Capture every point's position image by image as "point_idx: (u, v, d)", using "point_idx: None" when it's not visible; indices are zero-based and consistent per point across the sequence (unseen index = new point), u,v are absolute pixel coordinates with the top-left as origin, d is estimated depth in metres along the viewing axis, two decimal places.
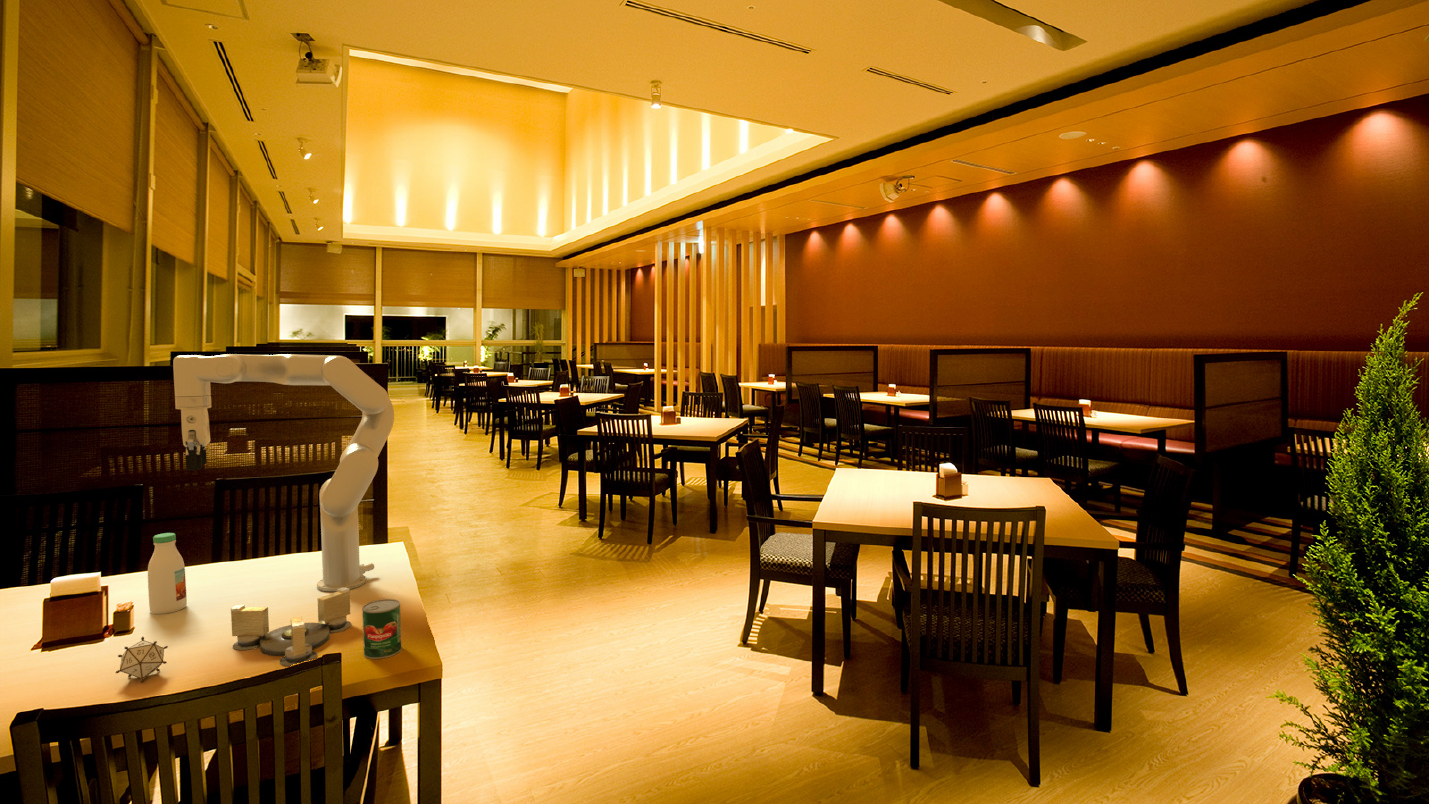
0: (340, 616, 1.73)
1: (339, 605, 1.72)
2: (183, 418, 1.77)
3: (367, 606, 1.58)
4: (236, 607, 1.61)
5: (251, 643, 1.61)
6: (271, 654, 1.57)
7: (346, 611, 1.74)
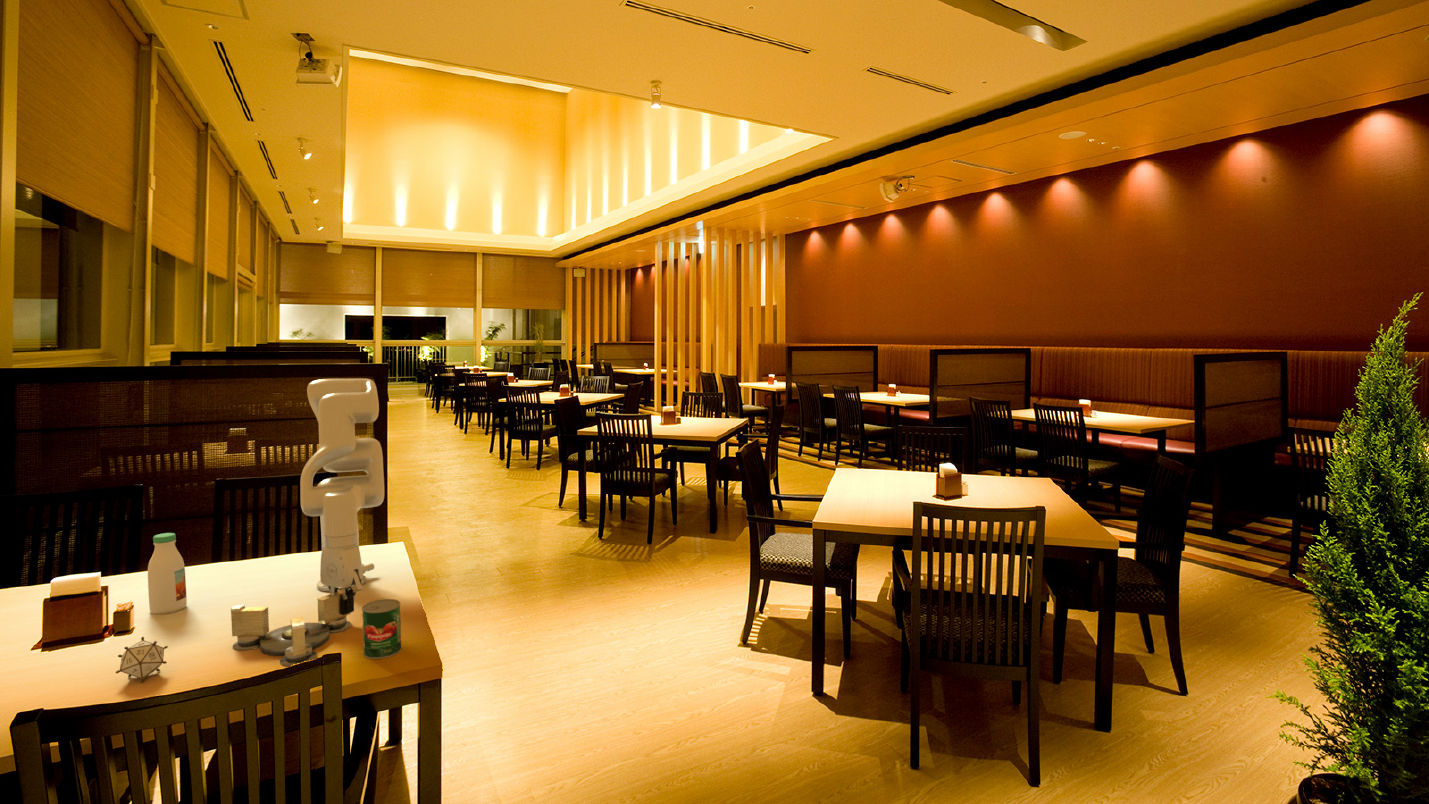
0: (340, 616, 1.73)
1: (339, 605, 1.72)
2: None
3: (367, 606, 1.58)
4: (236, 607, 1.61)
5: (251, 643, 1.61)
6: (271, 654, 1.57)
7: None
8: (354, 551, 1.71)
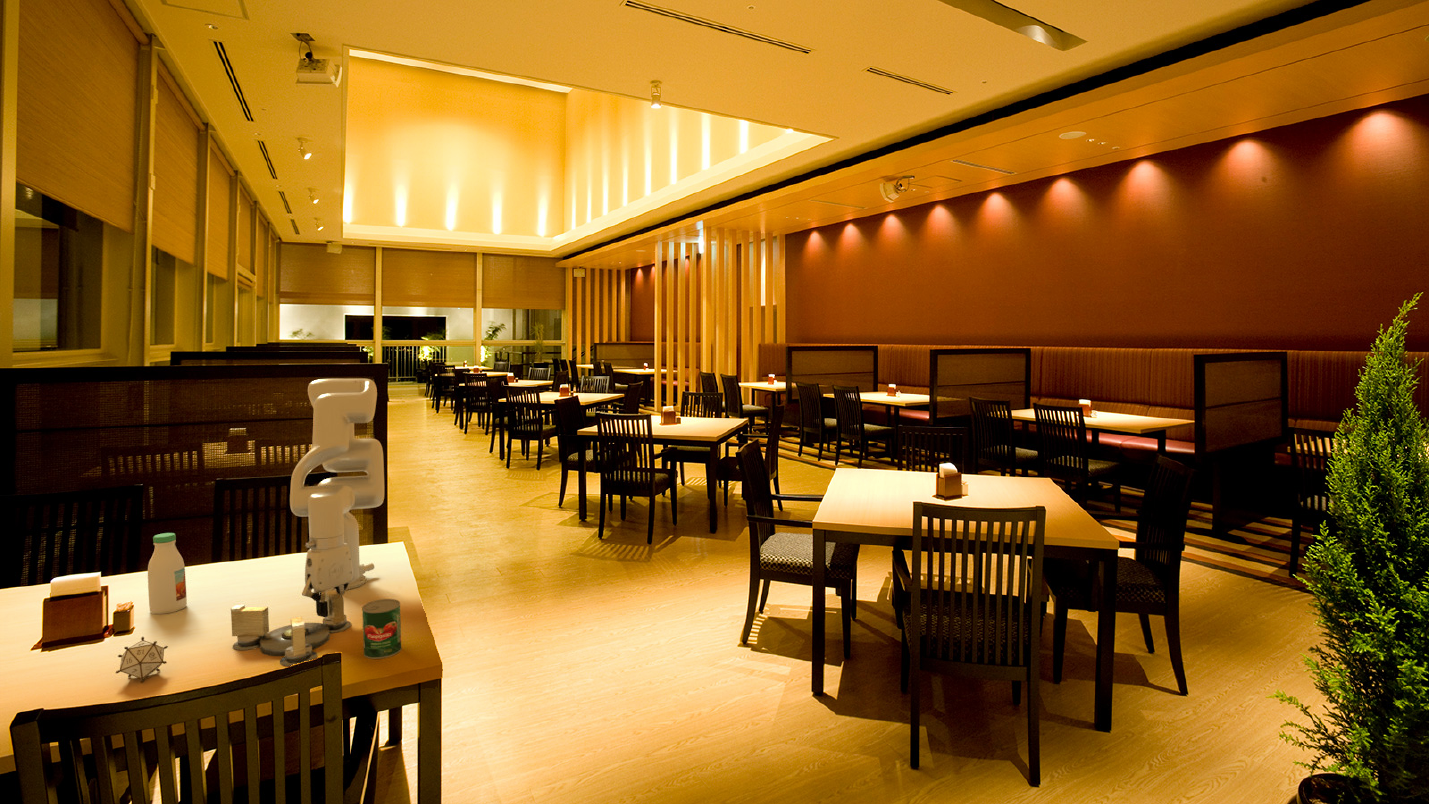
0: None
1: None
2: (306, 560, 1.69)
3: (367, 606, 1.58)
4: (236, 607, 1.61)
5: (251, 643, 1.61)
6: (271, 654, 1.57)
7: None
8: None
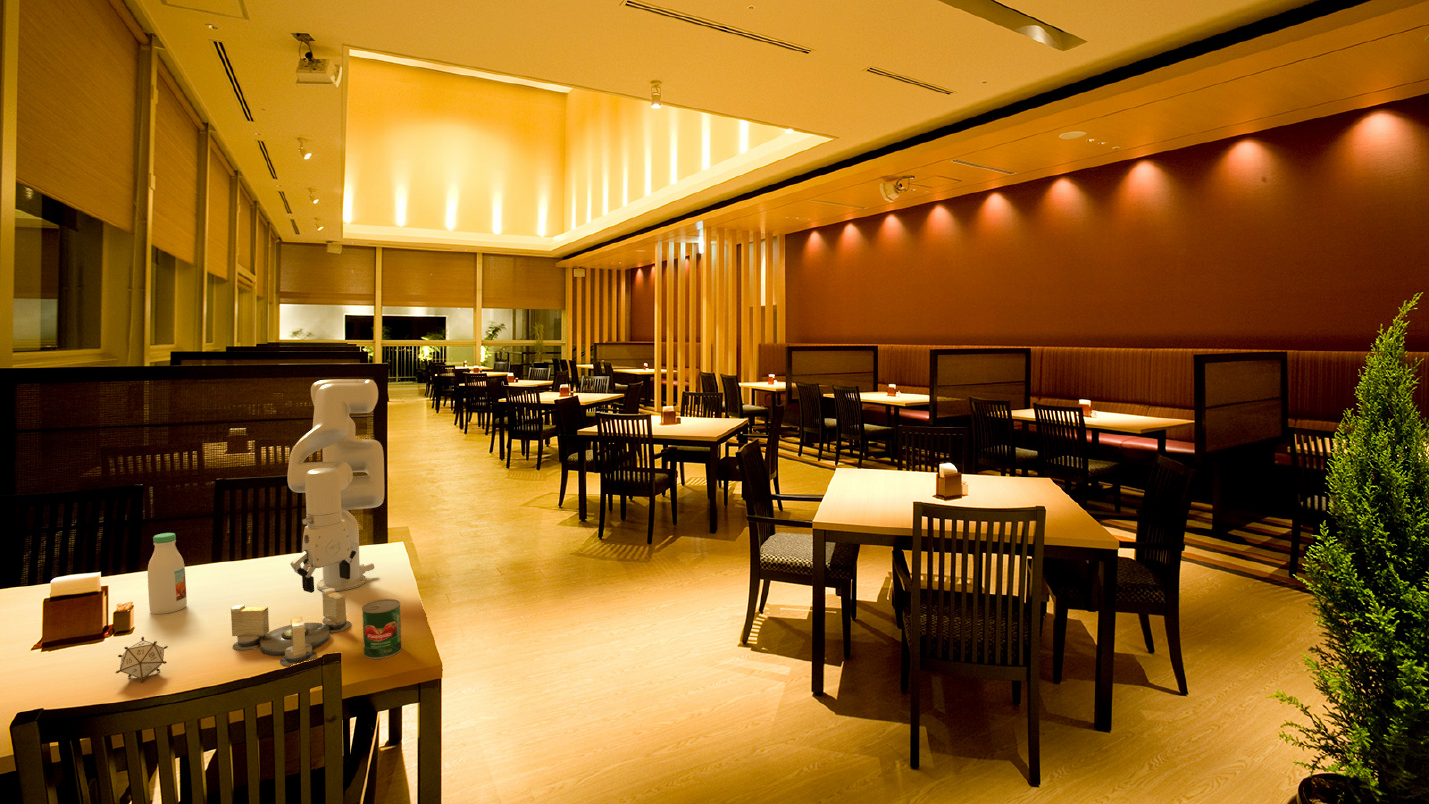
0: None
1: None
2: (303, 536, 1.69)
3: (367, 606, 1.58)
4: (236, 607, 1.61)
5: (251, 643, 1.61)
6: (271, 654, 1.57)
7: None
8: None
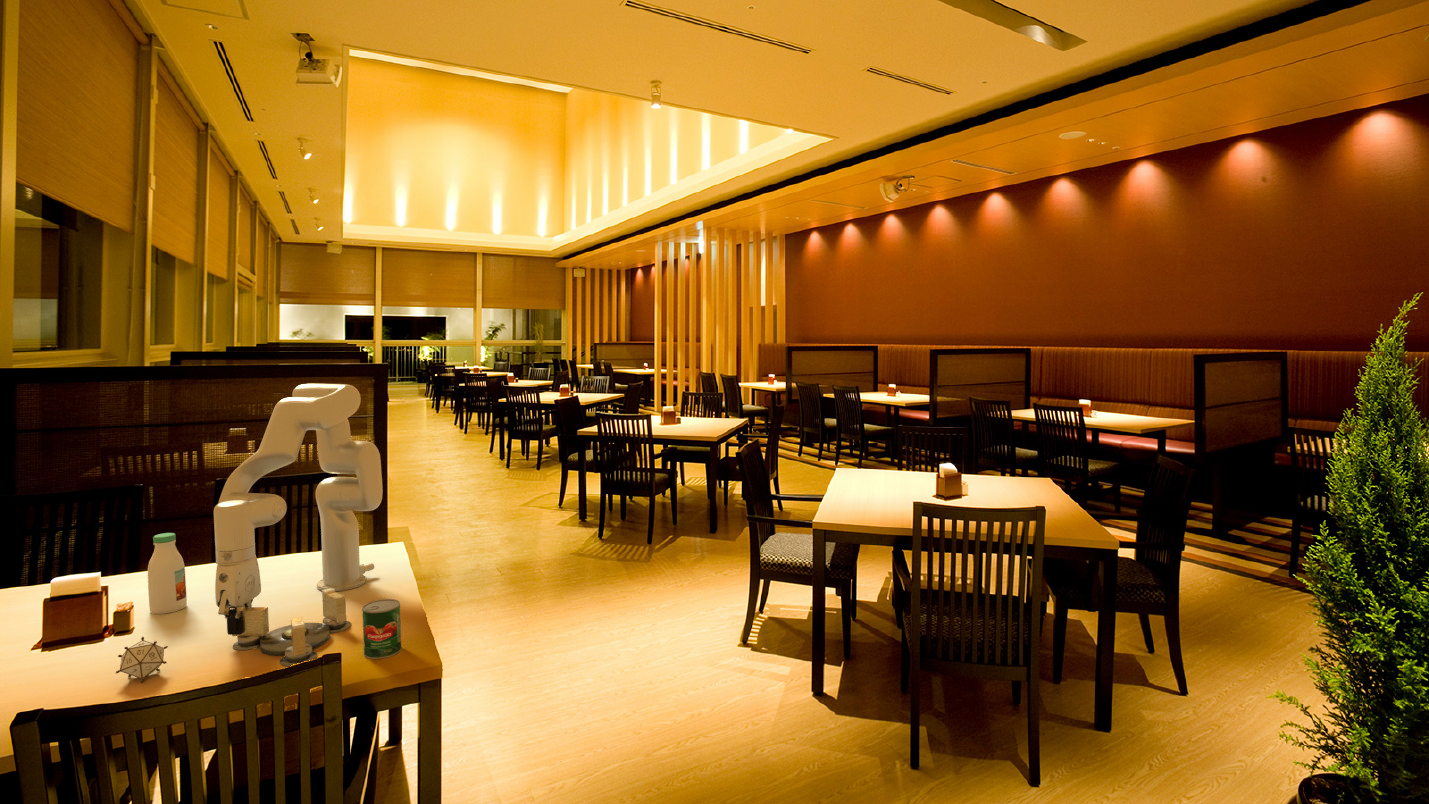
0: None
1: None
2: (216, 576, 1.57)
3: (367, 606, 1.58)
4: None
5: (251, 643, 1.61)
6: (271, 654, 1.57)
7: None
8: None
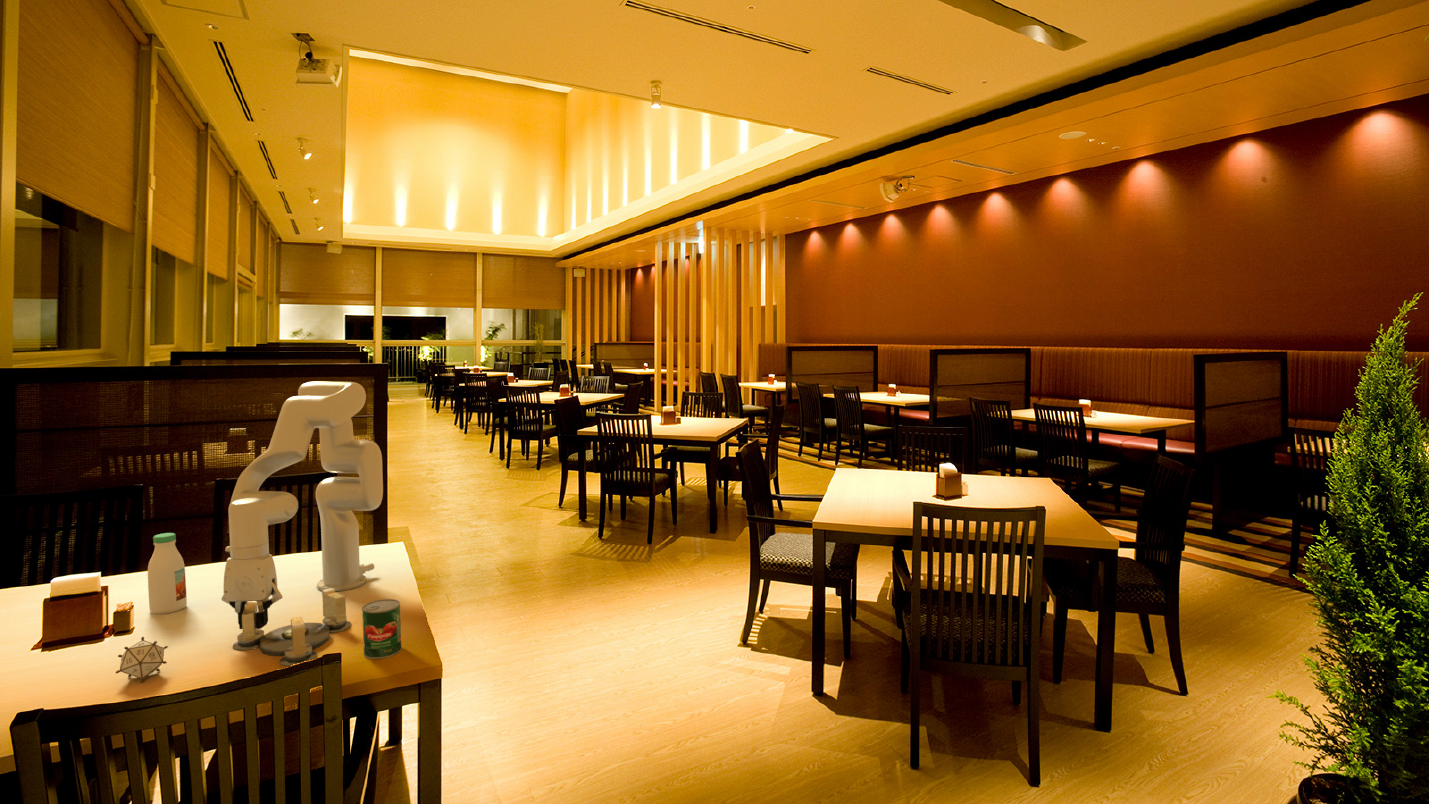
0: None
1: None
2: None
3: (367, 606, 1.58)
4: (248, 603, 1.64)
5: (238, 643, 1.61)
6: (271, 654, 1.57)
7: None
8: (270, 560, 1.64)
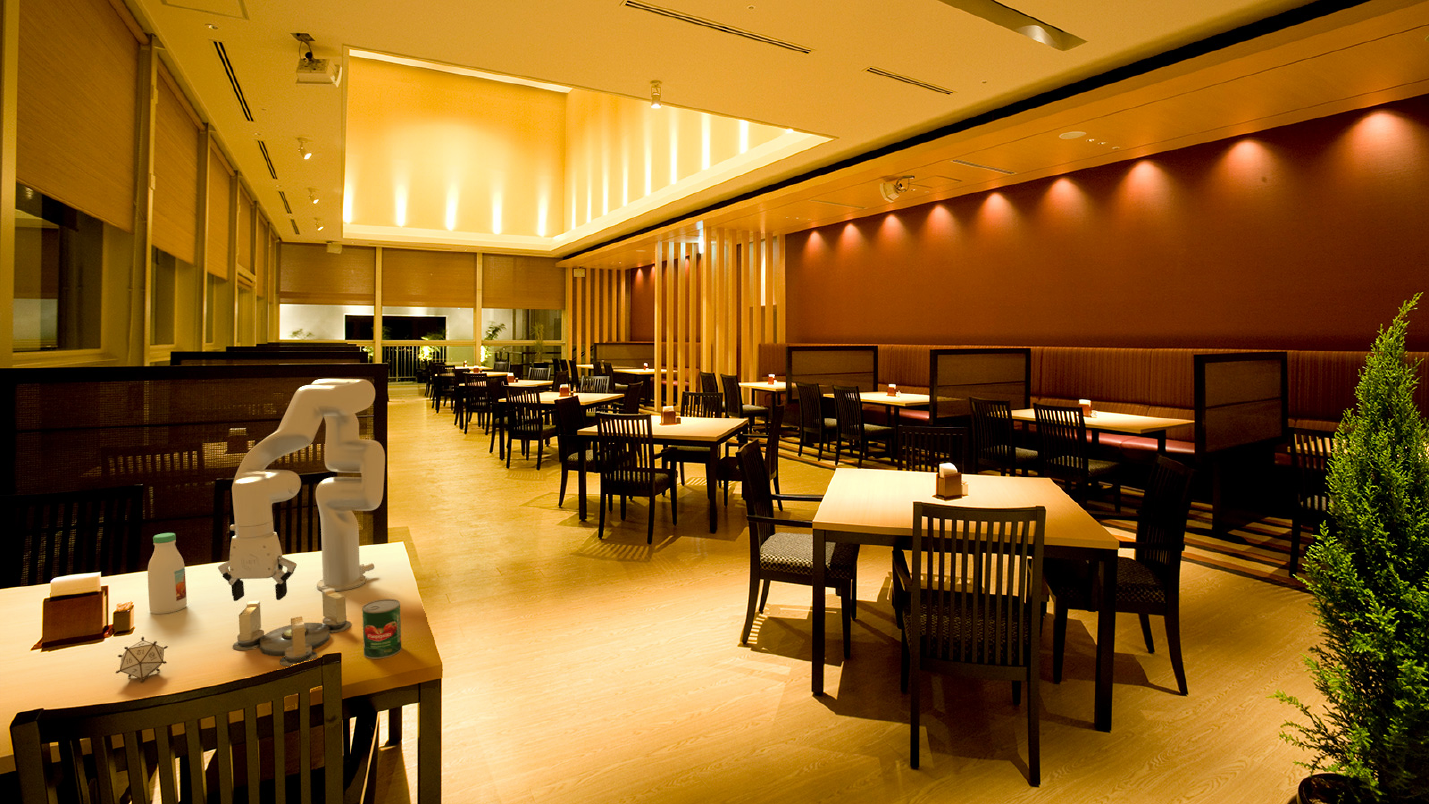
0: None
1: None
2: None
3: (367, 606, 1.58)
4: (251, 602, 1.65)
5: (238, 643, 1.61)
6: (271, 654, 1.57)
7: None
8: (275, 538, 1.65)
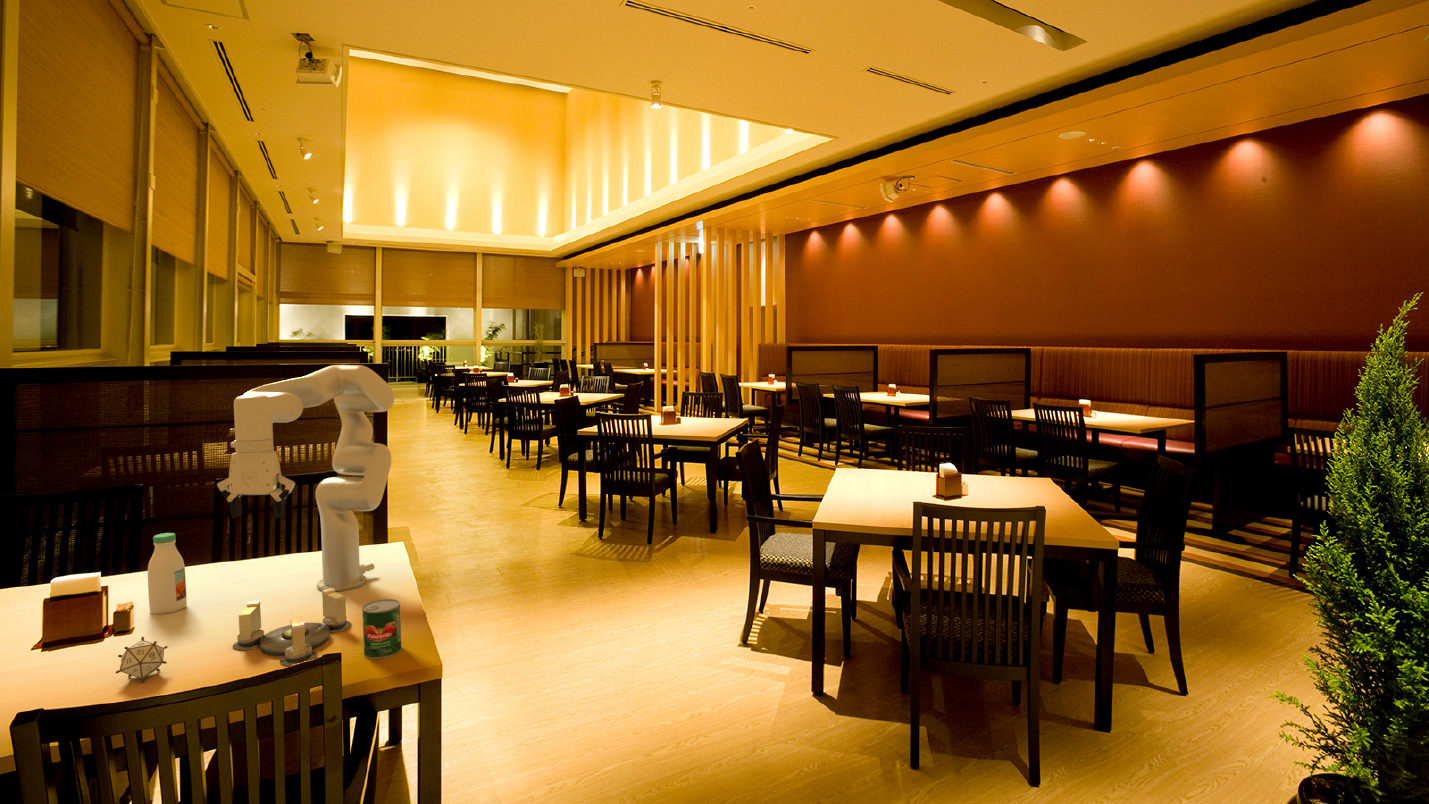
0: None
1: None
2: None
3: (367, 606, 1.58)
4: (251, 602, 1.65)
5: (238, 642, 1.61)
6: (271, 654, 1.57)
7: None
8: (275, 456, 1.67)
